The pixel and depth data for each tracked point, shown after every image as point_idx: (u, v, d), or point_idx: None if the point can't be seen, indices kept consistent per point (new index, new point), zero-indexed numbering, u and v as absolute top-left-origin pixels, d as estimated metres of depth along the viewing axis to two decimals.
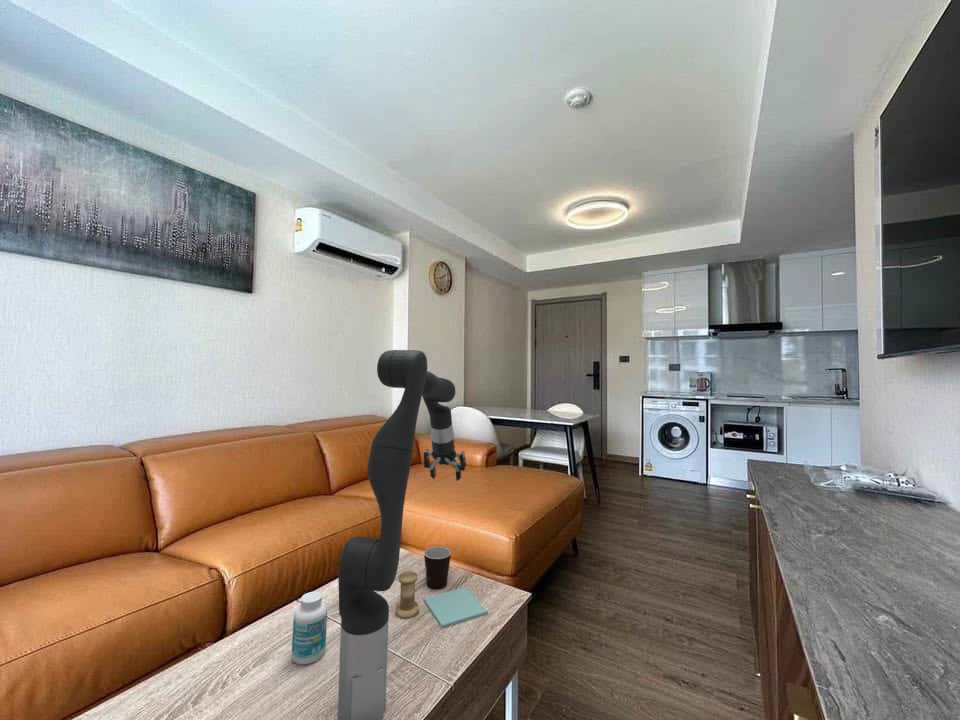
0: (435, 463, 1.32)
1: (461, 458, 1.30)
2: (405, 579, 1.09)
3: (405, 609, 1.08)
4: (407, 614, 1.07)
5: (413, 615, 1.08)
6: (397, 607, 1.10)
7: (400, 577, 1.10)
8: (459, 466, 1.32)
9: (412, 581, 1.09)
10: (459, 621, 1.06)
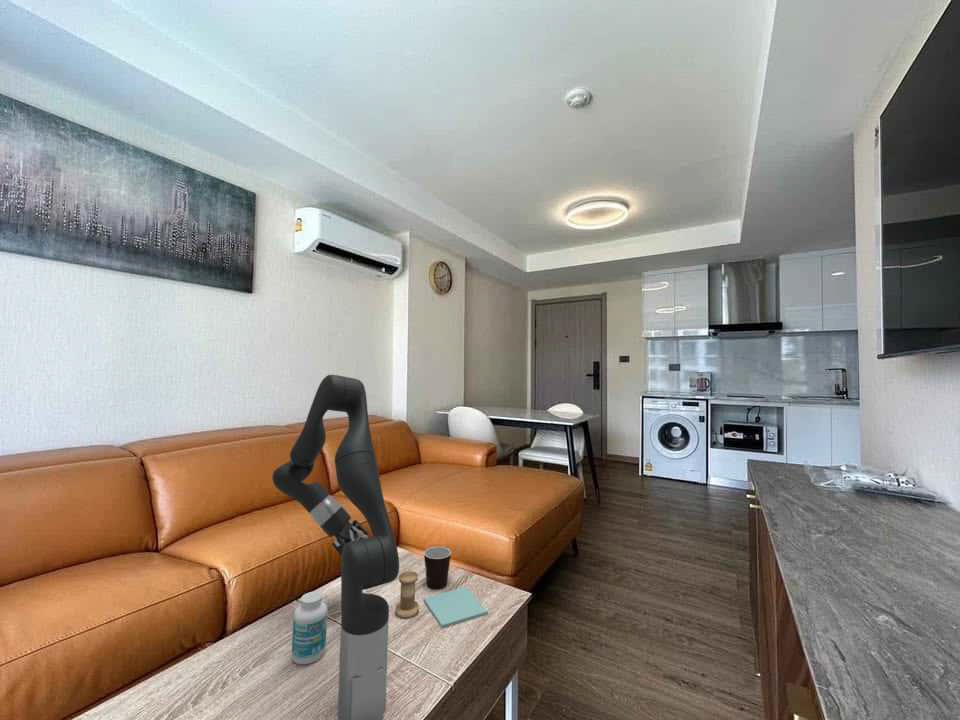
0: (353, 540, 1.09)
1: (357, 522, 1.18)
2: (405, 579, 1.09)
3: (405, 609, 1.08)
4: (407, 614, 1.07)
5: (413, 615, 1.08)
6: (397, 607, 1.10)
7: (400, 577, 1.10)
8: (362, 537, 1.16)
9: (413, 581, 1.09)
10: (459, 621, 1.06)
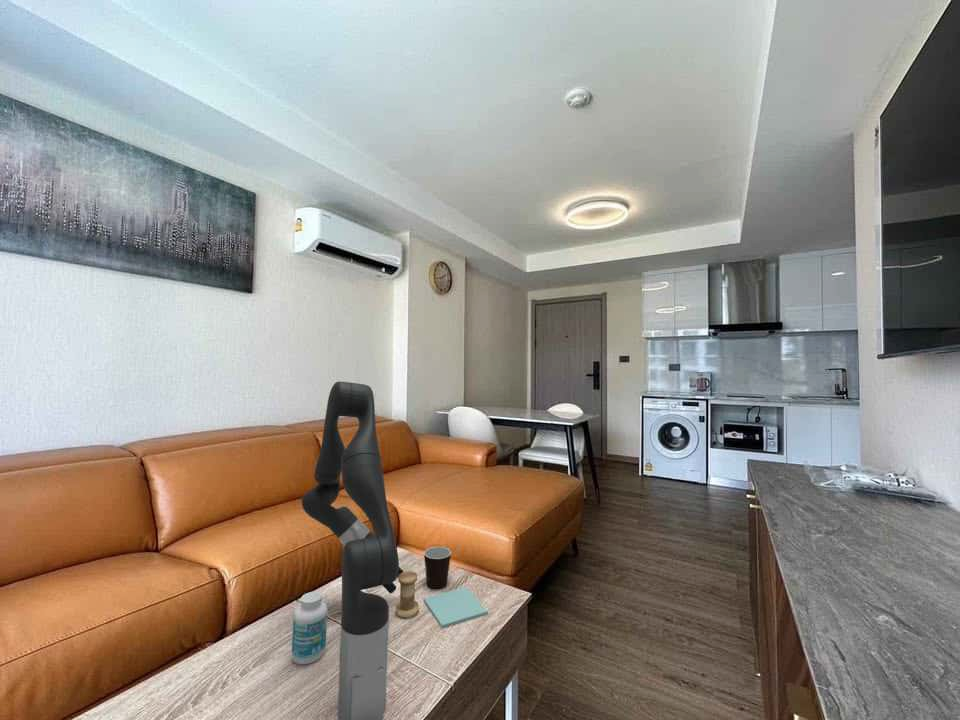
0: None
1: None
2: (405, 579, 1.08)
3: (405, 609, 1.08)
4: (407, 614, 1.07)
5: (413, 615, 1.08)
6: (397, 607, 1.10)
7: (400, 577, 1.09)
8: None
9: (412, 581, 1.08)
10: (459, 621, 1.06)
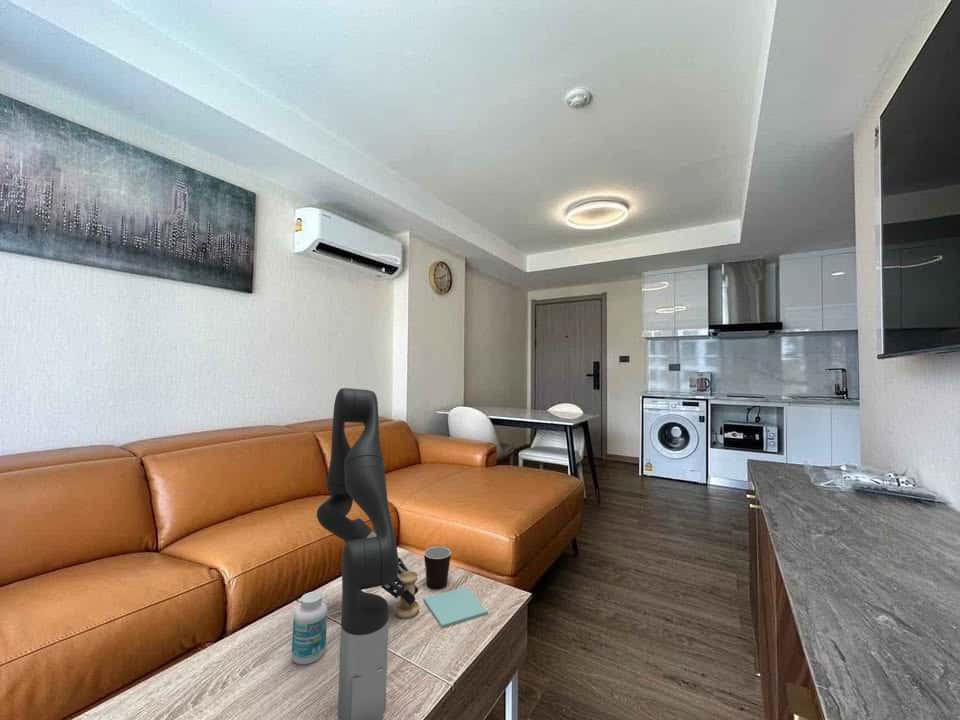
0: (399, 576, 1.09)
1: (401, 561, 1.17)
2: (405, 579, 1.09)
3: (405, 609, 1.08)
4: (408, 614, 1.07)
5: (414, 615, 1.08)
6: (397, 607, 1.10)
7: None
8: None
9: (412, 581, 1.09)
10: (459, 621, 1.06)
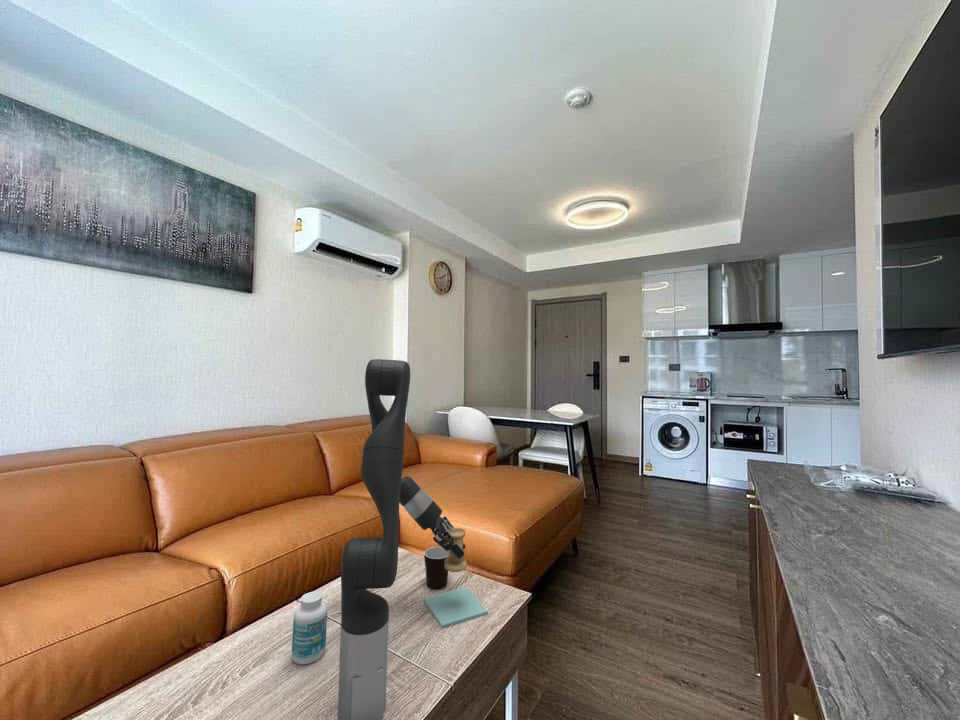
0: (449, 532, 1.12)
1: (447, 519, 1.20)
2: (454, 534, 1.12)
3: (455, 563, 1.11)
4: (457, 567, 1.10)
5: (463, 568, 1.11)
6: (446, 562, 1.13)
7: None
8: None
9: (461, 536, 1.12)
10: (459, 621, 1.06)
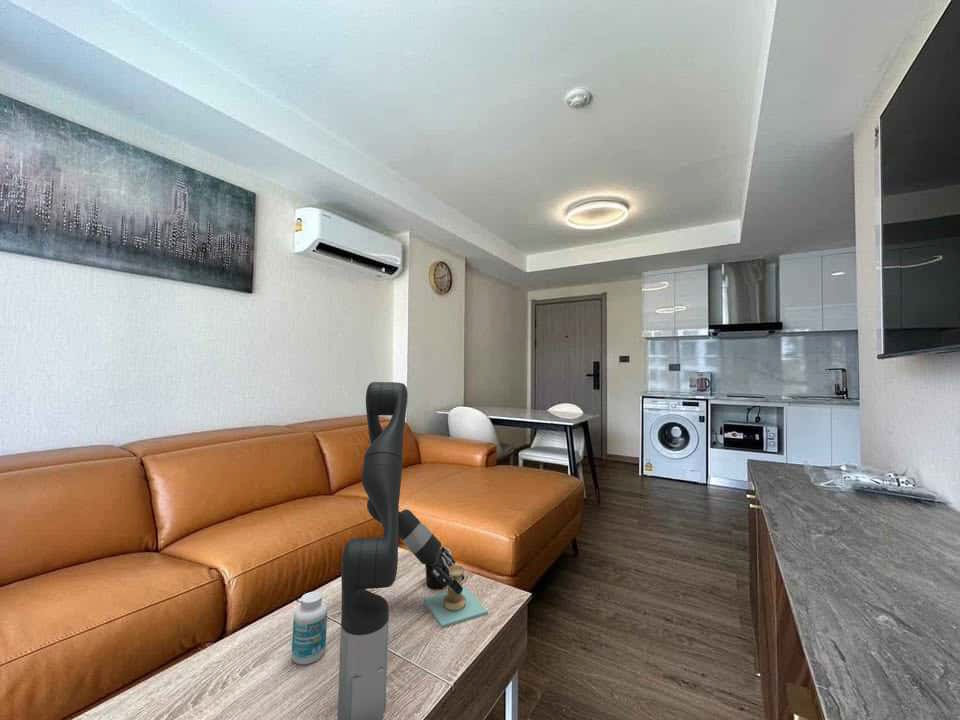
0: (448, 566, 1.11)
1: (445, 550, 1.20)
2: (453, 572, 1.11)
3: (453, 602, 1.11)
4: (456, 607, 1.10)
5: (462, 608, 1.11)
6: (445, 600, 1.12)
7: None
8: None
9: (460, 575, 1.11)
10: (459, 621, 1.06)
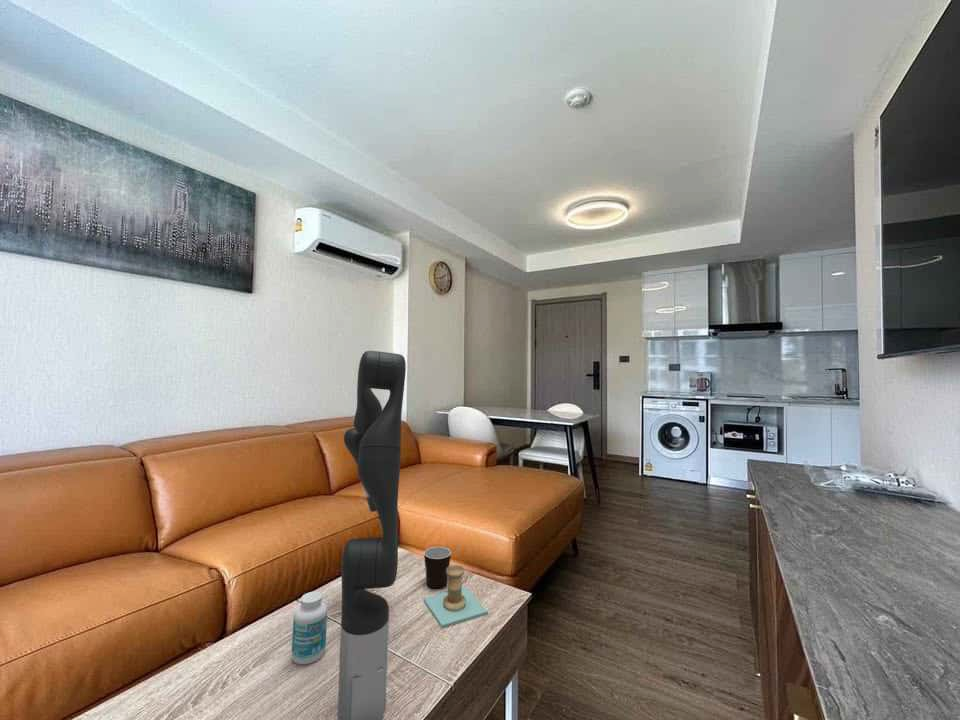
0: None
1: None
2: (453, 572, 1.11)
3: (453, 602, 1.11)
4: (456, 607, 1.10)
5: (462, 608, 1.11)
6: (445, 600, 1.12)
7: (448, 571, 1.12)
8: None
9: (460, 575, 1.11)
10: (459, 621, 1.06)
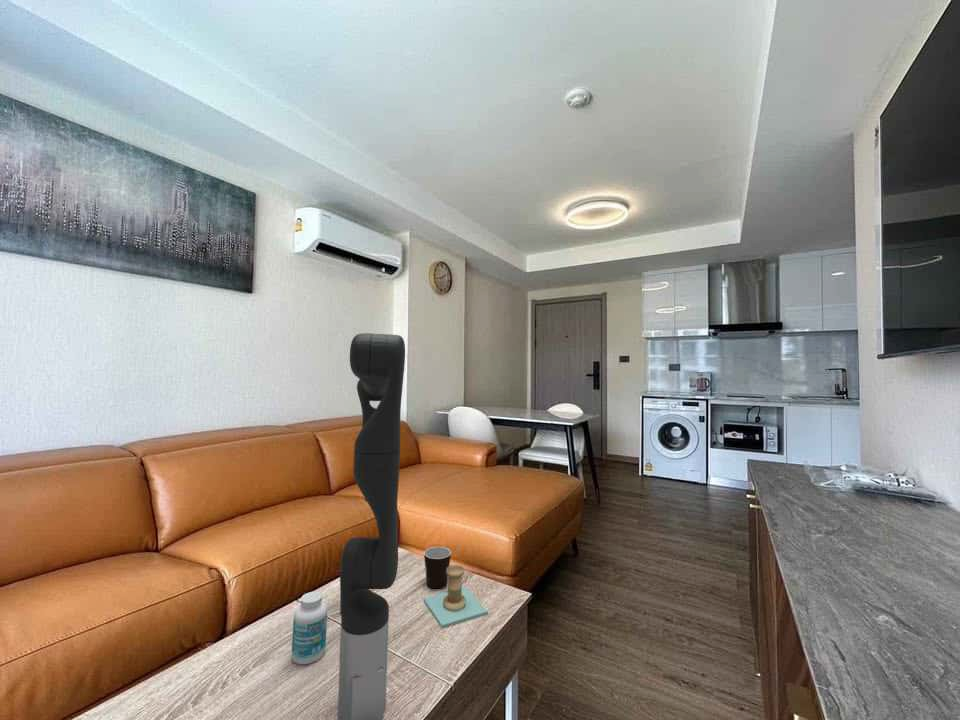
0: None
1: None
2: (453, 572, 1.11)
3: (453, 602, 1.11)
4: (456, 607, 1.10)
5: (462, 608, 1.11)
6: (445, 600, 1.12)
7: (448, 571, 1.12)
8: None
9: (460, 575, 1.11)
10: (459, 621, 1.06)
